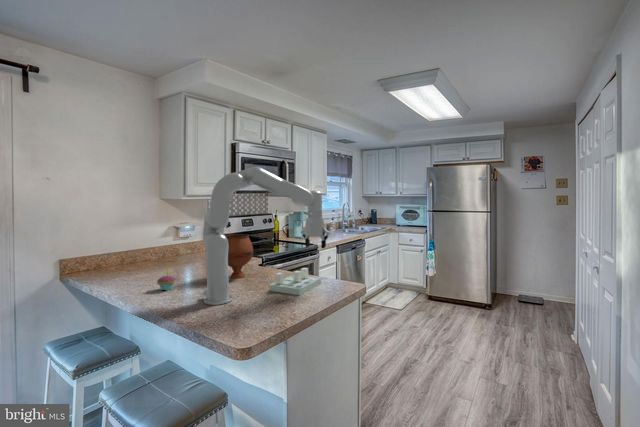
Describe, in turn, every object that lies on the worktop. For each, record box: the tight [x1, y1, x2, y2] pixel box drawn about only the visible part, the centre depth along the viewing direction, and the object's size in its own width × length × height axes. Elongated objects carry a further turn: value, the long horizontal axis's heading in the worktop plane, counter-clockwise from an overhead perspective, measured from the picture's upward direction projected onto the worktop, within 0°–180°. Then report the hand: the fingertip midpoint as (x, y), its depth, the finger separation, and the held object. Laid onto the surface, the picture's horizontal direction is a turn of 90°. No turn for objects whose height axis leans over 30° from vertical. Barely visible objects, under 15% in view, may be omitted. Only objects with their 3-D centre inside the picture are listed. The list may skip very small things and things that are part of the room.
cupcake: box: [156, 266, 176, 291], centre depth 170 cm, size 9×8×12 cm
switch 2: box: [292, 270, 301, 282], centre depth 171 cm, size 3×3×5 cm
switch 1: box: [275, 272, 285, 284], centre depth 167 cm, size 3×3×5 cm
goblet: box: [225, 233, 254, 280], centre depth 194 cm, size 19×19×25 cm
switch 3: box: [300, 267, 309, 279], centre depth 178 cm, size 3×3×5 cm
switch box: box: [268, 274, 322, 296], centre depth 172 cm, size 18×22×3 cm
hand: (315, 247), depth 173 cm, fingers open, 9 cm apart
